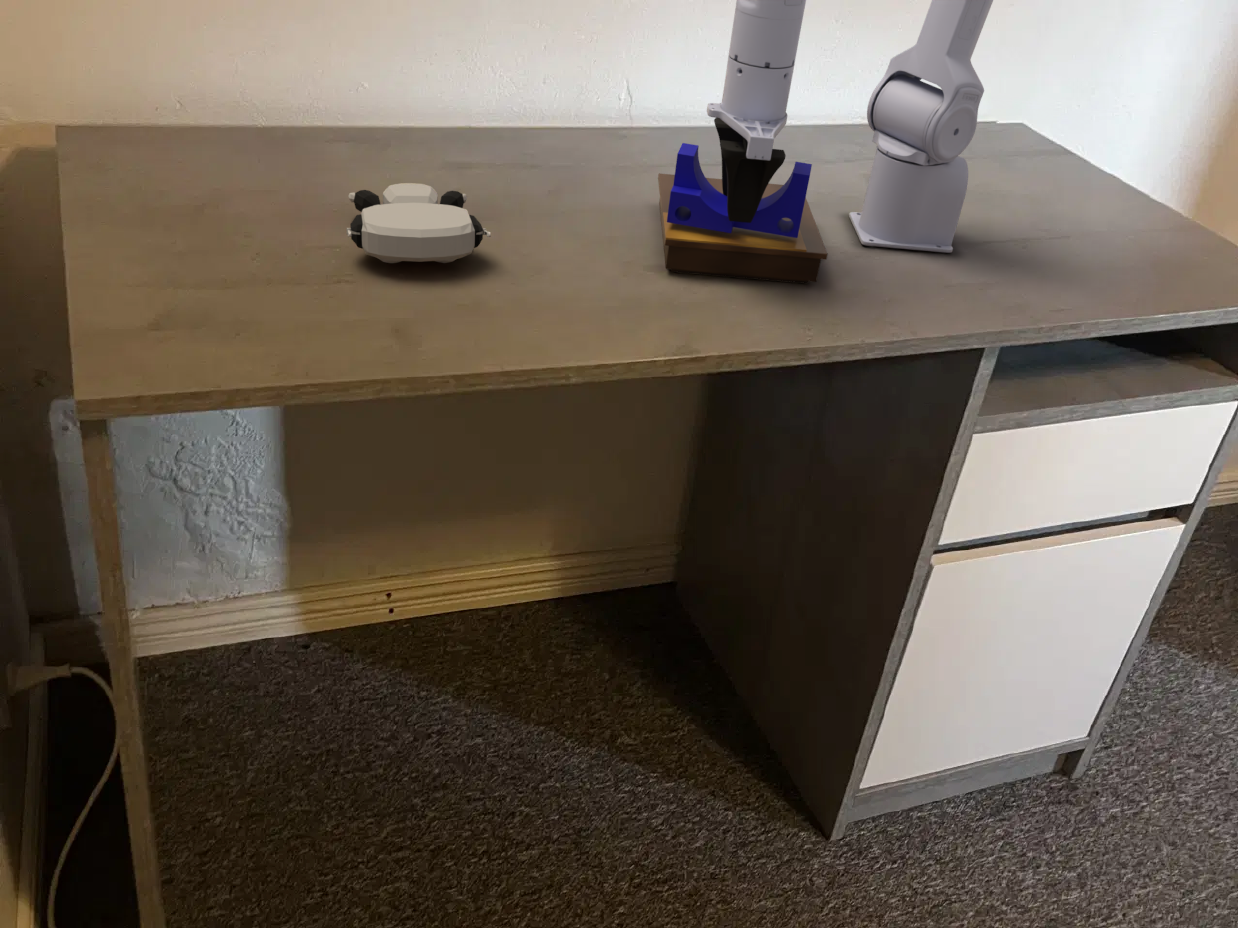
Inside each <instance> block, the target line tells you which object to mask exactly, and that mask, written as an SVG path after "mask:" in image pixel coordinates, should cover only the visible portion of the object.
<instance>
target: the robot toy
mask: <svg viewBox="0 0 1238 928" xmlns="http://www.w3.org/2000/svg"><path fill="white" fill-rule="evenodd" d="M438 195H439V194H438V192H437V191H436V190H435V189H434V188H433V186H431V185H429V184H424V183H414V182H413V183H412V182H405V183H404V182H403V183H401V182H399V183H395V184H391V185H388V186H387V187H386V189H384V191H383V192H382V203H381V200H380V196H379V195H378V194H376V193H375V192H372V191H371V190H367V189H359V190H358V191H356V192H349V193H348V196H347V197H348V199H349V201H350V202H351V203H353V204H354V207H355V210H356V211H359V212H360V214H356V216H354V218H353V220H352V221H351V222H350V227H346V235H347V237H348V238H350V240H351V241H352V242H353V243H354V244H355V245H356V247H357V248H358V249H363V252H364V253H365V255H366V256H367V255H368V256H370V257H373V258H376V259H378V260H380V261H381V262H383V263H388V264H397V263H401V262H417V263H418V262H419V263H420V262H421V263H422V262H423V263H424V262H437V263H442V264H447V263H452V262H454V261H455V260H457V259H462V258H464V257H467V256H469V255H472V253H473V250H474V249H476V248H479V246H480V245H481V243H482V241H483V239H484V237H483V236H486V237H487V238H491V237H492V235H491V234H492V232H491V231H487V228H486V227H483V226H482V224H481V223H480V221H479V220H478V219H477V218H476V216H475V215H473V214H469V211H468V209H466V208H463V207H464V205H465V204H466V202H467V200H468V195H467V194H466V193H463V192H459V191H458V190H449V191H446V192H445V193H444V194H443V195H441V197H440V201H439V203H438V197H439V196H438Z"/></svg>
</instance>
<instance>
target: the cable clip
mask: <svg viewBox="0 0 1238 928" xmlns="http://www.w3.org/2000/svg"><path fill="white" fill-rule="evenodd" d="M812 166H813V163H808V162H807V163H806V162H801V161H794V166H793V169H792V171H791V174H790V176H789V177H788V179H787V180H786V181H785V183H784V184H782V185H783V186H782V187H781V188H780V189H779V190H778V191H776V192H775V193H773V194H772V195H770V196H768V197H765V198H762V199H761V201H760V204H759V206H758V209H757V211H756V213H755V216H754V218H753V220H752V222H751V223H745V222H734V221H729V218H728V212H727V196H725V195H724V194H722V193H720V192H719V191H717V190H716V189H715V188H714V187H713V186H712V185H711V184H710V183H709V182H708V181H707V179H706V178H707V177H706V176H705V174H704V172H703V170H702V167H701V163H700V158H699V145H698V144H692V143H685V142H682V143H681V145H680V148H679V149H678V152H677V155H676V162H675V170H674V175H675V177H674V185H673V187H672V190H671V193H670V201H669V209H668V216H667V222H669V223H674V224H680V225H686V226H692V227H698V228H703V229H709V230H715V231H721V232H727V233H731V232H732V229H733V227H736V228H741V229H747V230H753V231H759V232H765V233H770V234H776V235H782V236H788V237H794V238H798V233H799V228H800V223H801V218H802V213H803V208H804V203H805V198H806V199H807V192H808V188H809V183H810V177H811V172H812ZM782 218H789V219H791V221H785V220H783V219H782Z"/></svg>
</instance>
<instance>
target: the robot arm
mask: <svg viewBox="0 0 1238 928" xmlns="http://www.w3.org/2000/svg"><path fill="white" fill-rule="evenodd" d="M993 2H994V0H931V1H930V4H929V8H928V10H927V13H926V16H925V18H924V21H923V23H922V26H921V29H920V32H919V35H918V37H917V40H916V42H915V44H914V45H912V46H911V47H909V48H907V49H905V50H903V51H901V52H900V53H898V54H896V55H894V56H892V58H890V60H889V63H888V65H887V69H886V71H885V72H884V75H883V77H882V78H881V80H880V81H879V82H878V84H877V85H876V87H875V88H874V89H873V91H872V93H871V95H870V97H869V101H868V104H867V109H866V121H867V124H868V126H869V128H870V130H871V131H872V132H873V136H872V140H871V142H872V143H874V144H876V147H875V151H874V156H873V161H872V165H871V170H870V174H869V178H868V182H867V186H866V191H865V195H864V199H863V204H862V208H861V212H858V211H851V212H849V214H848V217H849V219H850V222H851V223H852V224H851V225H852V226H853V228H854V231H855V233H856V235H857V237H858V239H859V241H860V243H861V244H862V245H863V246H869V247H878V248H890V249H902V250H913V251H923V252H924V251H925V252H935V253H947V254H951V253H952V252H953V250H954V248H953V246H952V245H953V240H954V237H955V233H956V230H957V228H958V223H959V220H960V216H961V214H962V213H961V212H962V209H963V206H964V202H965V198H966V194H967V190H968V185H969V184H968V183H969V167H968V162H967V160H966V158H965V157H964V156H961V154H962V153H963V152H964V151H965V150H966V149H967V148H968V147H969V145H970V143H971V142H972V140H973V137H974V136H975V133H976V130H977V126H978V125H977V123H978V115H979V107H980V104H981V102H982V101H981V100H982V98H983V95H984V93H985V88H984V85H983V83H982V81H981V79H980V77H979V76H978V74H977V72H976V69H975V68H974V66H973V64H972V56H973V54H974V52H975V49H976V47H977V43H978V41H979V38H980V36H981V34H982V31H983V28H984V26H985V23H986V20H987V17H988V15H989V13H990V10H991V8H992V5H993ZM806 3H807V0H736V2H735V9H734V17H733V22H732V29H731V36H730V41H729V50H728V57H727V63H726V71H725V78H724V85H723V91H722V97H721V102H719V103H717V102H709V103H708V104H707V106H706V107H707V108H706V113H707V116H708V117H710V118H714V119H713V122H714V126H715V129H716V131H717V135H718V140H719V147H720V155H721V179H722V189H723V194H724V195H725V196H727V212H728V218H729V221H734V222H745V223H751V222H752V220H753V218H754V216H755V213H756V211H757V209H758V206H759V204H760V201H761V198H762V196H763V194H764V191H765V189H766V187H767V185H768V184H770V181H771V180H772V178H773V177H774V175H775V174H776V172H777V171H778V170H779V169H780V168H781V167H782V165H783V164H784V162H785V160H786V157H787V155H786V153H785V150H784V149H778V148H774V141H775V139H776V137H777V136H778V135H779V134H780V132H781V131H782V130H783V129H784V128H785V126H786V125H787V121H788V113H787V108H788V103H789V97H790V92H791V91H790V90H791V85H792V81H793V75H794V71H795V70H794V69H795V64H796V59H797V58H796V57H797V54H798V53H797V52H798V46H799V41H800V36H801V31H802V26H803V25H802V24H803V20H804V15H805V14H804V13H805V9H806ZM922 80H923V81H922ZM924 81H927V82H929V83H927V82H924ZM930 83H931V84H930ZM932 84H934V85H932ZM935 85H936V86H935ZM937 86H938V87H937Z"/></svg>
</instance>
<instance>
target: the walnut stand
mask: <svg viewBox="0 0 1238 928" xmlns="http://www.w3.org/2000/svg"><path fill="white" fill-rule="evenodd" d="M674 177H675V174H670V173H669V174H668V173H658V175H657V181H658V191H659V201H658V206H659V217H660V224H661V225H660V226H661V234H662V245H663V246H662V247H663V254H664V255H663V256H664V261H665V262H664V264H665V269H666V270H670V272H671V273H679V274H680V273H681V274H692V275H704V276H714V277H715V276H716V277H725V278H726V277H727V278H738V279H750V280H759V281H760V280H761V281H772V282H785V283H798V284H807V285H808V284H809V283H811V282H812V283H817V281H818V276H819V271H820V266H821V263H822V262H821V261H822V260H827V259H828V255H829V254H828V252H827V248H826V246H825V244H824V241H823V239H822V236H821V233H820V230H819V229H818V225H817V223H816V220H815V218H814V215H813V212H812V210H811V208H810V205H809V203H808V200H807V197H806V198H805V203H804V208H803V213H802V218H801V223H800V228H799V233H798V238H794V237H788V236H782V235H776V234H770V233H765V232H759V231H753V230H747V229H741V228H736V227H733V229H732V232H731V233H727V232H721V231H715V230H709V229H703V228H698V227H692V226H686V225H680V224H674V223H669V222H667V216H668V209H669V201H670V193H671V190H672V187H673V185H674ZM706 179H707V181H708V182H709V183H710V184H711V185H712V186H713V187H714V188H715V189H716V190H717V191H719V192H720V193H722V194H723V189H722V178H712V177H706ZM783 185H784V184H780V183H779V184H778V183H768V185H767V187H766V189H765V191H764V194H763V196H762V198H765V197H768V196H770V195H772V194H773V193H775V192H776V191H778V190H779V189H780V188H781V187H782V186H783ZM762 198H761V199H762ZM782 219H783V220H785V221H791V219H789V218H782Z"/></svg>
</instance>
